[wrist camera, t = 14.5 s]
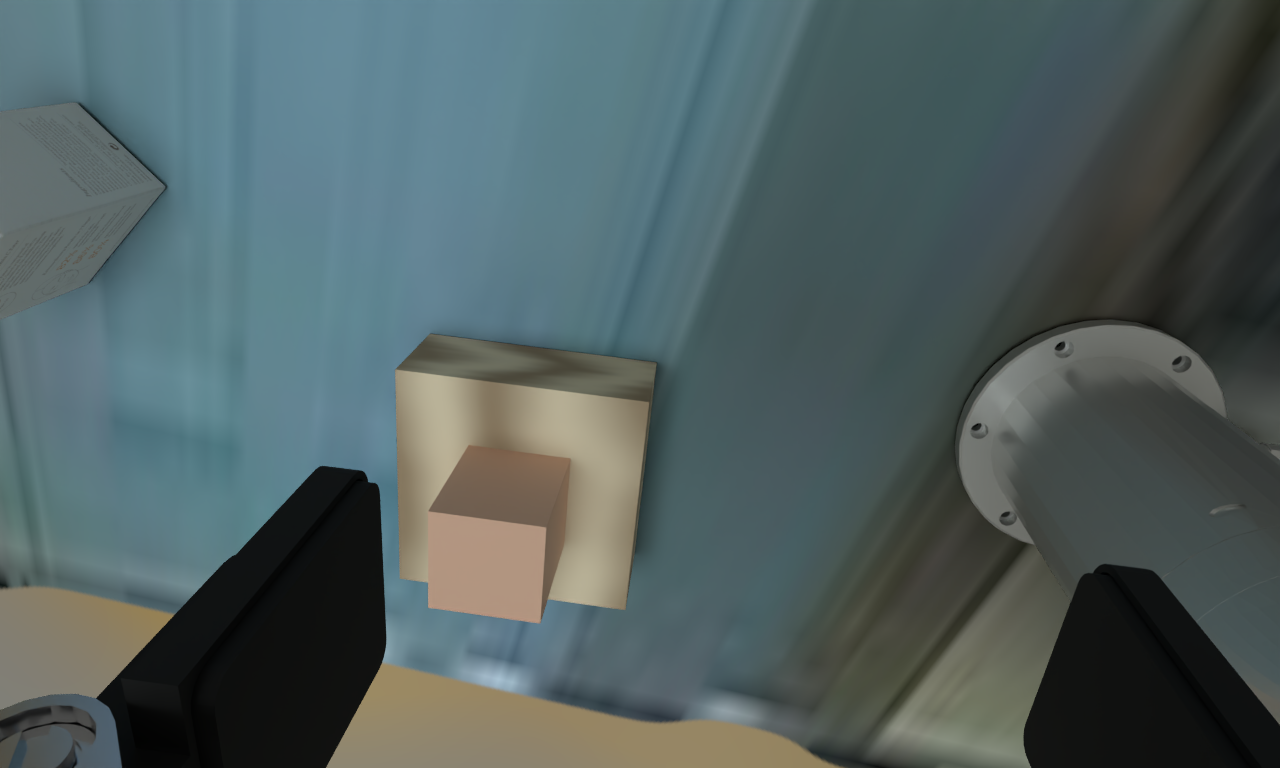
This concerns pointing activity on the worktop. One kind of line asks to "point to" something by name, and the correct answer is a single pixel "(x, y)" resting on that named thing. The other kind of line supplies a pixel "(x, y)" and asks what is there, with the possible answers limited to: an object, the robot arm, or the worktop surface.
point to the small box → (62, 201)
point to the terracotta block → (498, 533)
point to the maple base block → (530, 445)
